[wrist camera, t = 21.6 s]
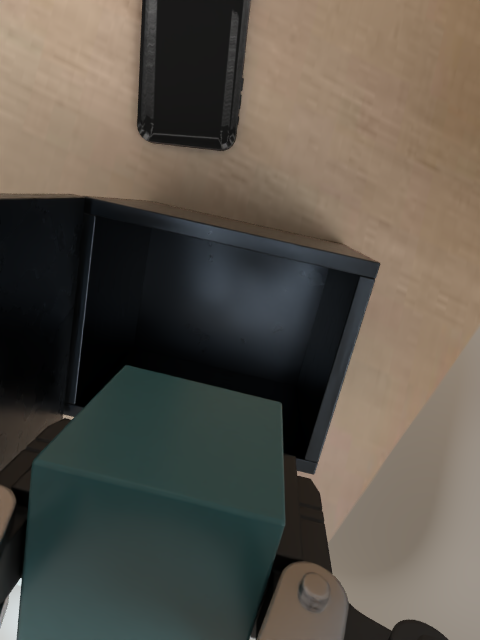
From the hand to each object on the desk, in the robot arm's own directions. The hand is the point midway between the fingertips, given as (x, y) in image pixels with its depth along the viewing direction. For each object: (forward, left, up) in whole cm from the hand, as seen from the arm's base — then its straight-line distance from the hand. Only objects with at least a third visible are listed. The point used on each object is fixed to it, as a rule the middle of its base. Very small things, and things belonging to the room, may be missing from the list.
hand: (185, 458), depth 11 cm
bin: (+1, +2, -25) cm, 25 cm away
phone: (+12, -15, -25) cm, 32 cm away
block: (0, 0, 0) cm, 0 cm away
